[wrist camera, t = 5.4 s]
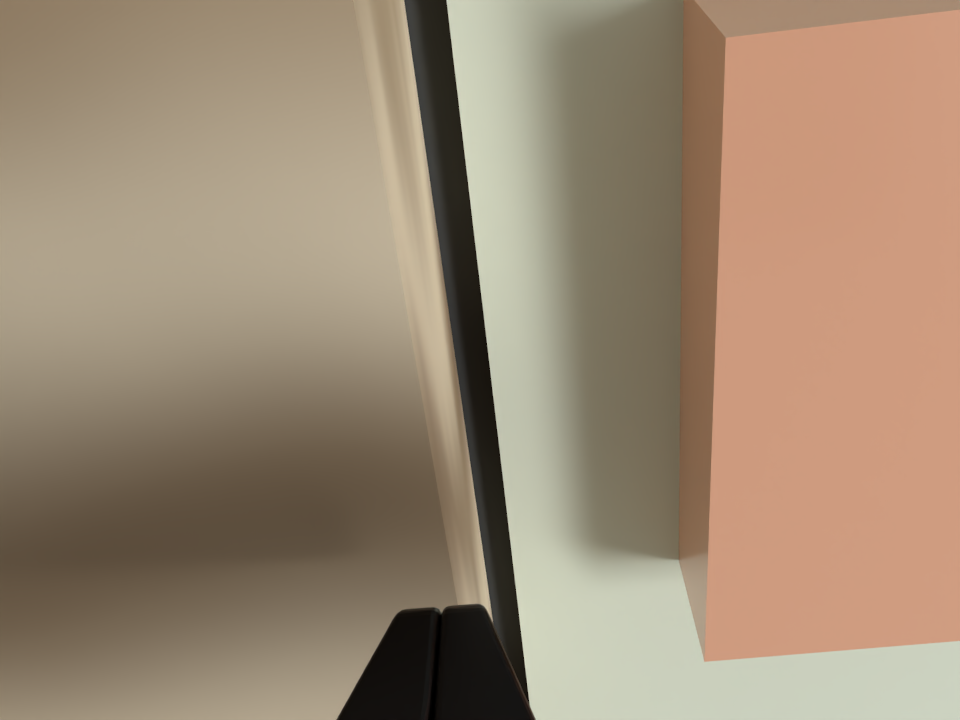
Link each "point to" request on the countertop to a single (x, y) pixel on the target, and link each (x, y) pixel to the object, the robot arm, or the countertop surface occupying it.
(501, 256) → the mat
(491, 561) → the countertop surface
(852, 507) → the tile
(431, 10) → the countertop surface
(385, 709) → the robot arm
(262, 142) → the soap dish
